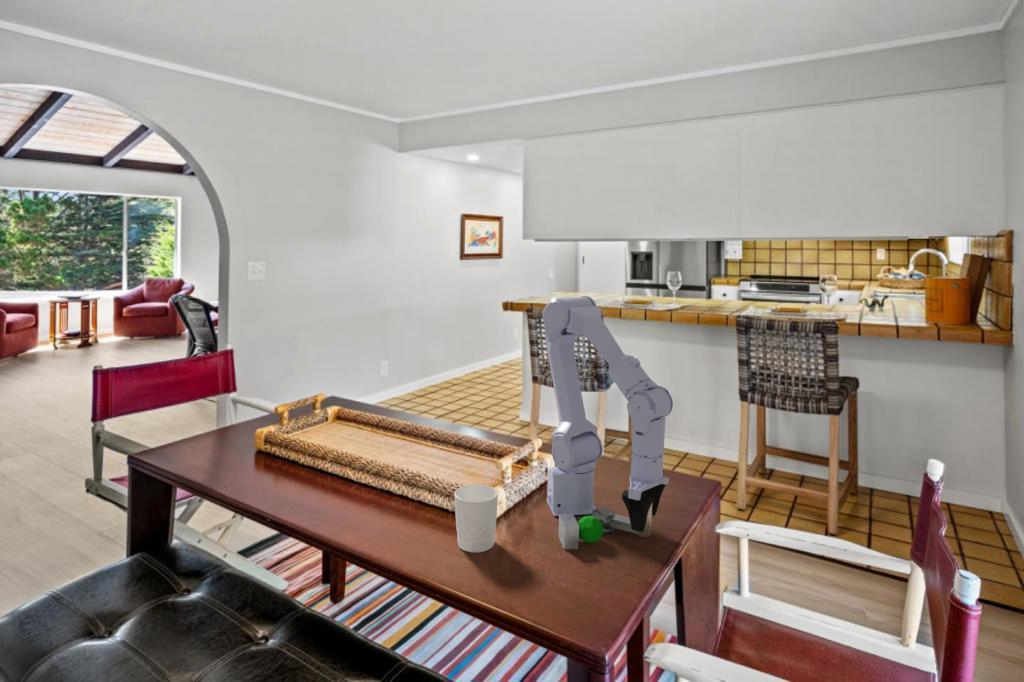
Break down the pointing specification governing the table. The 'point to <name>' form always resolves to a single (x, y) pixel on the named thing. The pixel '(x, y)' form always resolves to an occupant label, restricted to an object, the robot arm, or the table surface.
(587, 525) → the polyhedron
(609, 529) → the pivot base
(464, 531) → the white cup
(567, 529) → the light grey block
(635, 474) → the robot arm
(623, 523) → the lever
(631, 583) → the table surface
